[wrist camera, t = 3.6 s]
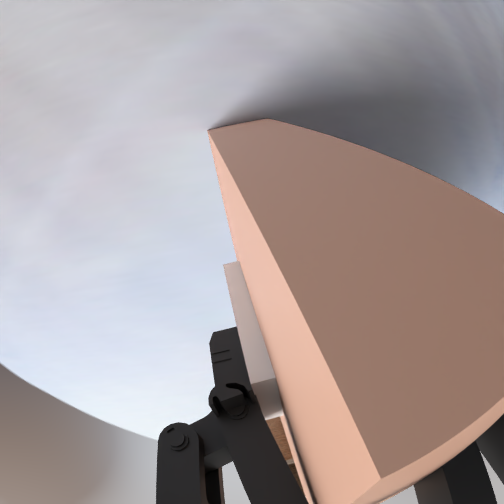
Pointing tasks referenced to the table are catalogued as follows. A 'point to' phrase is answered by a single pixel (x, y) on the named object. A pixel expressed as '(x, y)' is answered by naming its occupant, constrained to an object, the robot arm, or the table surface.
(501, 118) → the table surface
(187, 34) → the table surface
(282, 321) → the door panel
